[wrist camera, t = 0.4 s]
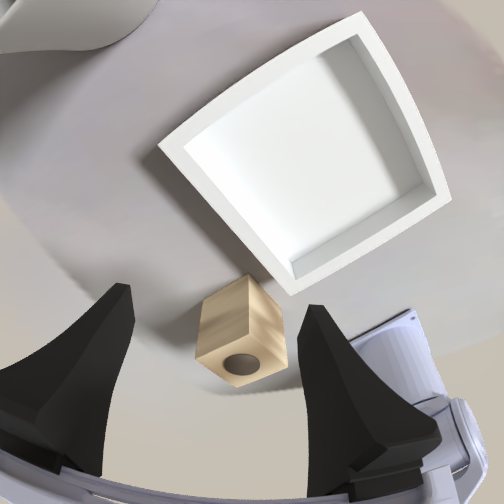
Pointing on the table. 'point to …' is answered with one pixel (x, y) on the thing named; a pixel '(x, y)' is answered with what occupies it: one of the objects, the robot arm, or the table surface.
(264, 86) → the tray
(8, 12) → the mug
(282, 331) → the bore block
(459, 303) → the table surface
